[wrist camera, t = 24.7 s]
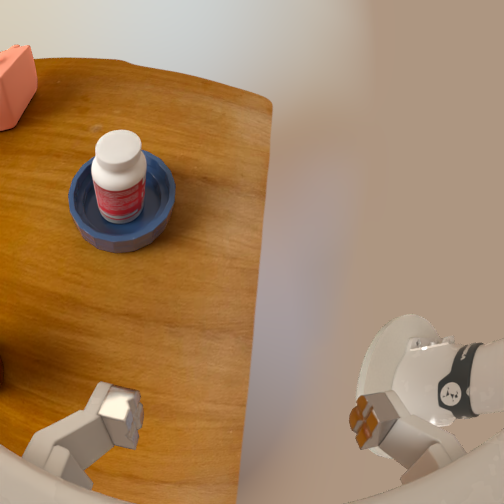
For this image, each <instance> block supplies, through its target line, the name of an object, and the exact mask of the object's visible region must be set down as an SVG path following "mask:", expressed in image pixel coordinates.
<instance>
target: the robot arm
mask: <svg viewBox="0 0 504 504" xmlns="http://www.w3.org/2000/svg"><path fill="white" fill-rule="evenodd" d="M140 398H141V395H140V391H138V390H135V389H130V388H126V387H122V386H118V385H114V384H109V383H105V382H102V381H101V382H99V383H98V384H97V386H96V388H95V390H94V392H93V393H92V395H91V397H90V399H89V401H88V403H87V405H86V407H85V409H84V411H83V410H79V411H77V412H75V413H73V414H71V415H69V416H68V417H66V418H64V419H62V420H60V421H58V422H56V423H54V424H52V425H50V426H48V427H46V428H44V429H42V430H40V431H38V432H36V433H35V434H34V435H33V437H32V439H31V441H30V443H29V444H28V446H27V448H26V450H25V452H24V454H23V456H22V458H21V457H20V456H18V455H16V454H15V453H13V452H11V451H10V450H8V449H7V448H5V447H4V446H2V445H1V444H0V504H136V503H131V502H128V501H124V500H120V499H117V498H113V497H110V496H107V495H104V494H101V493H98V492H95V491H92V490H91V489H92V486H93V482H92V480H91V479H90V478H89V477H88V475H87V474H86V473H85V472H84V470H85V469H86V468H88V467H89V466H90V465H91V464H93V463H94V462H95V461H96V460H98V459H99V458H100V457H101V456H103V455H104V454H105V453H106V452H107V451H109V450H110V449H111V448H112V447H114V445H116V446H120V447H125V448H129V449H134V450H136V446H137V443H138V439H139V434H138V431H137V430H139V429H140V428H142V424H143V419H144V409H143V405H142V404H141V403H140V402H139V401H140ZM356 403H357V406H356V407H355V408H353V409H352V411H351V413H350V417H349V423H350V427H351V429H352V431H354V432H355V433H357V435H356V441H357V443H358V445H359V448H360V449H361V450H363V449H368V448H373V447H377V446H379V448H380V449H381V450H383V451H384V452H385V453H386V454H388V455H389V456H390V457H392V458H393V459H394V460H396V461H397V462H398V463H400V464H401V465H402V466H404V467H405V468H406V469H408V470H407V471H406V472H405V473H404V474H403V475H402V477H401V478H400V480H401V482H402V484H403V485H402V486H400V487H397V488H394V489H391V490H388V491H386V492H383V493H380V494H377V495H374V496H370V497H367V498H363V499H360V500H356V501H353V502H348V503H344V504H504V429H502V430H501V431H500V432H498V433H497V434H496V435H494V436H493V437H491V438H490V439H489V440H487V441H486V442H484V443H483V444H481V445H480V446H478V447H477V448H475V449H474V450H472V451H470V452H469V453H466V451H465V450H464V448H463V447H462V446H461V444H460V443H459V441H458V440H457V438H456V437H455V435H454V434H452V433H450V432H448V431H445V430H443V429H441V428H439V427H438V426H448V425H451V424H452V422H454V421H455V419H456V418H458V419H461V418H464V419H469V418H472V417H477V416H478V415H480V414H487V413H495V412H502V411H504V338H502V339H500V340H497V341H493V342H490V343H487V344H483V343H472V344H470V345H465V346H464V345H463V344H454V336H449V337H445V338H419V337H413V338H409V339H408V342H407V345H406V350H405V353H404V355H403V357H402V359H401V361H400V362H399V364H398V367H397V369H396V372H395V375H394V379H393V384H392V390H389V391H384V392H378V393H372V394H366V395H361V396H359V397H358V399H357V401H356Z"/></svg>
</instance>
